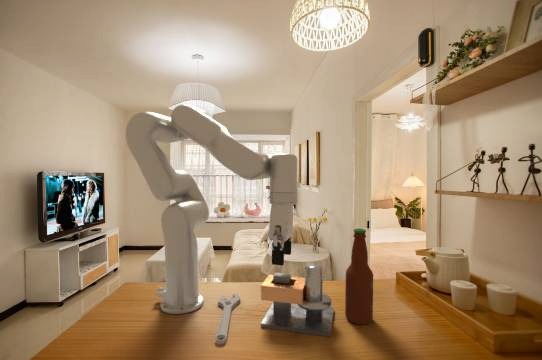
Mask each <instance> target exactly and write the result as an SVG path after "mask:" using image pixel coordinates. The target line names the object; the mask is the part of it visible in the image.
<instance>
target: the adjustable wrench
mask: <svg viewBox="0 0 542 360" xmlns="http://www.w3.org/2000/svg"><path fill="white" fill-rule="evenodd" d="M239 302H240V303H241V297H240V295H239V294H236V293H233V294H232V298H227V297H226V296H225V295H222V296H221V297H220V298H219V301H218V300H217V306H218V307H221V308H222V309H223V310H222V312H221V317H220V321H219V323H218V328H217V331H216V335H215V344H217V345H219V346H220V345H224V344H226V343H227V339H228V335H229V334H228V332H229V328H230V322H231V316H232V311H233V309H234V308H235V307H236V306H237V304H238V305H239V304H240V303H239Z"/></svg>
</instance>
